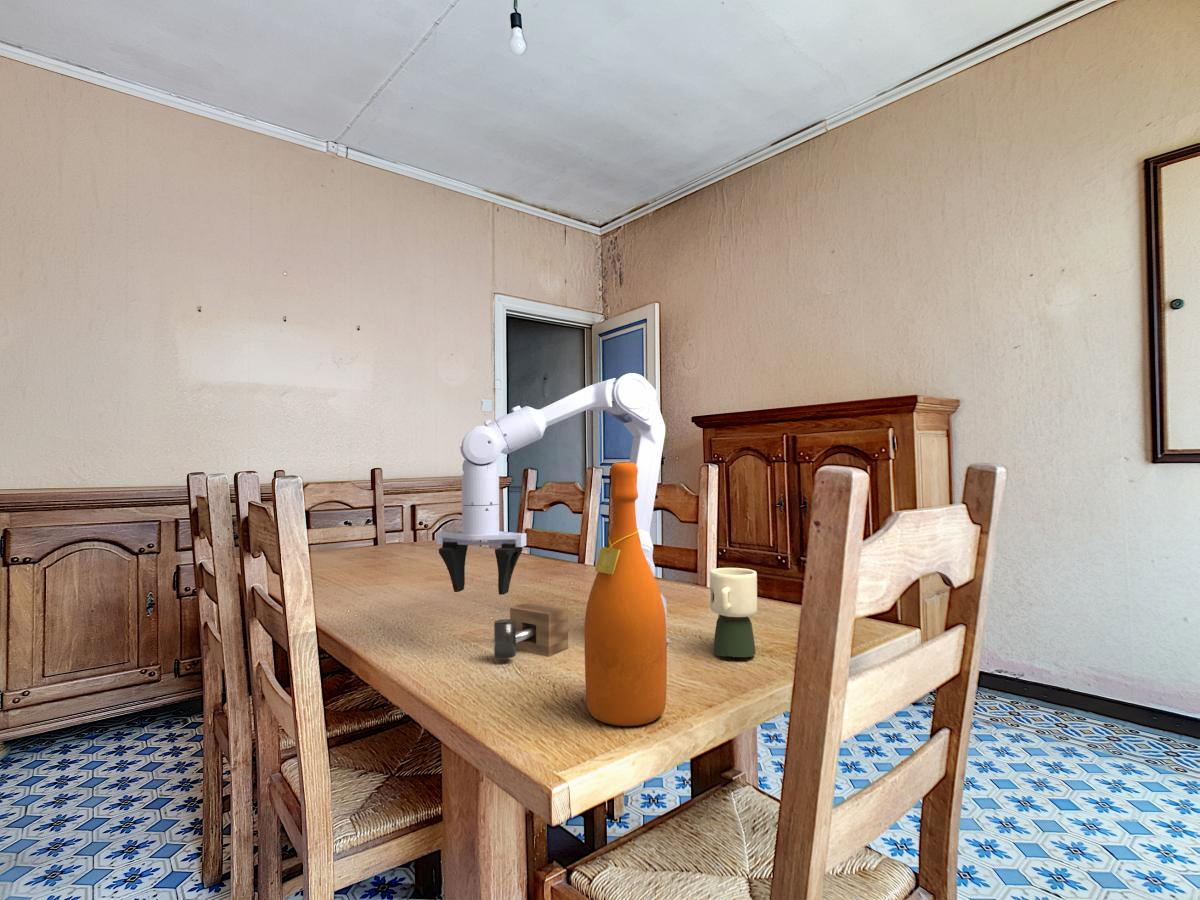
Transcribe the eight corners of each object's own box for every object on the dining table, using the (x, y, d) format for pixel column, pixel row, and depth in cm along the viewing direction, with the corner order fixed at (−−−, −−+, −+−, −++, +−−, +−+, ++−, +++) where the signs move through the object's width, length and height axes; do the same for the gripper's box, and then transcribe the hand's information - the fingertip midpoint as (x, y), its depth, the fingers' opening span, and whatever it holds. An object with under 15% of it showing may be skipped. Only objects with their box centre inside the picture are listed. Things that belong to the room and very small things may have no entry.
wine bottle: (583, 698, 77) (581, 462, 78) (660, 695, 78) (657, 461, 78) (587, 732, 67) (584, 461, 68) (674, 728, 68) (671, 461, 69)
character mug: (721, 643, 100) (720, 564, 100) (765, 649, 96) (764, 567, 97) (700, 663, 90) (699, 575, 90) (748, 670, 87) (747, 579, 87)
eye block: (530, 640, 102) (530, 601, 102) (568, 648, 98) (567, 607, 98) (510, 648, 98) (509, 607, 98) (548, 656, 94) (548, 614, 94)
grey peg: (545, 635, 102) (544, 605, 102) (560, 638, 100) (559, 607, 100) (489, 656, 91) (489, 622, 91) (505, 659, 89) (505, 625, 89)
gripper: (533, 503, 97) (534, 589, 96) (451, 502, 100) (452, 584, 100) (515, 506, 90) (516, 598, 90) (428, 505, 94) (429, 593, 93)
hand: (481, 592), depth 94 cm, fingers open, 7 cm apart
